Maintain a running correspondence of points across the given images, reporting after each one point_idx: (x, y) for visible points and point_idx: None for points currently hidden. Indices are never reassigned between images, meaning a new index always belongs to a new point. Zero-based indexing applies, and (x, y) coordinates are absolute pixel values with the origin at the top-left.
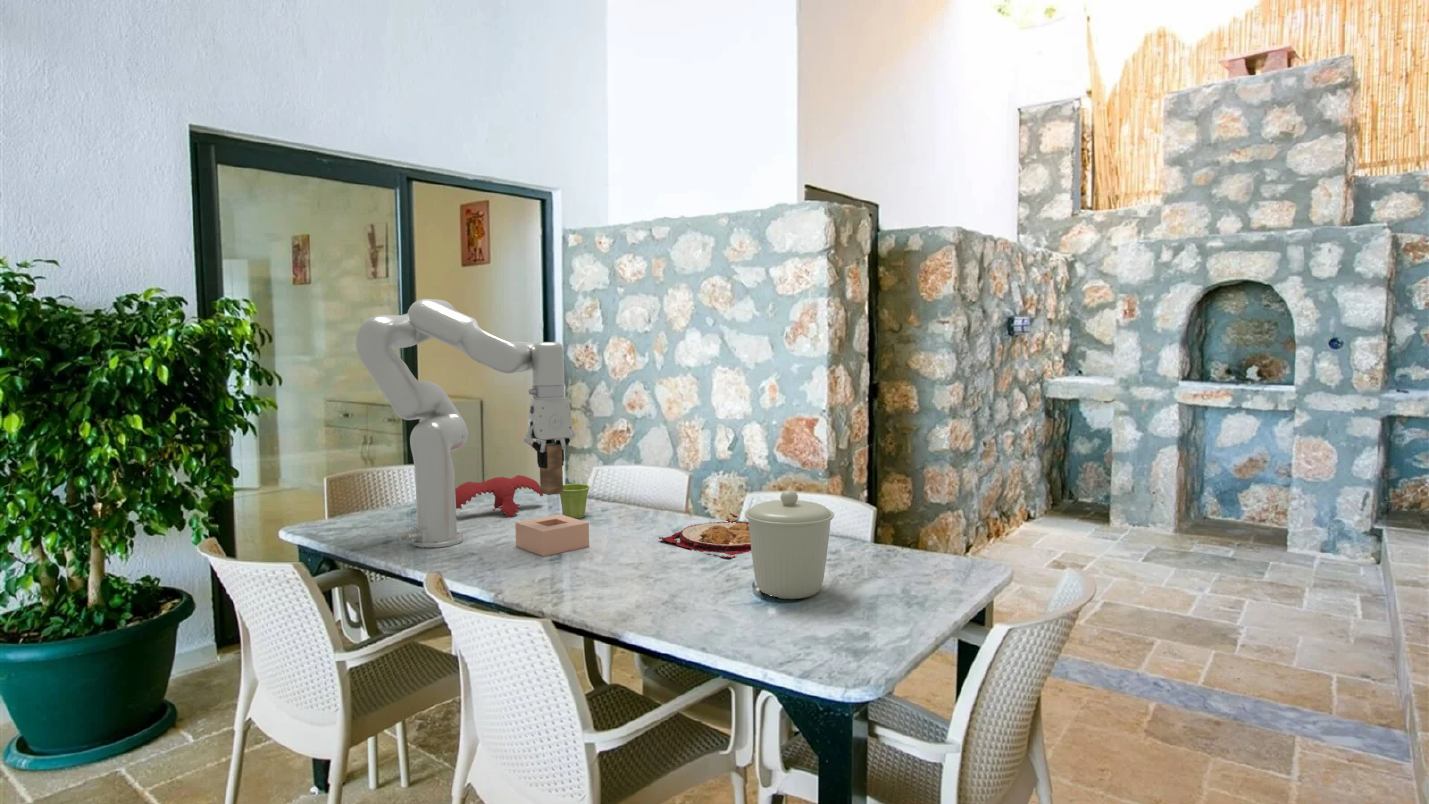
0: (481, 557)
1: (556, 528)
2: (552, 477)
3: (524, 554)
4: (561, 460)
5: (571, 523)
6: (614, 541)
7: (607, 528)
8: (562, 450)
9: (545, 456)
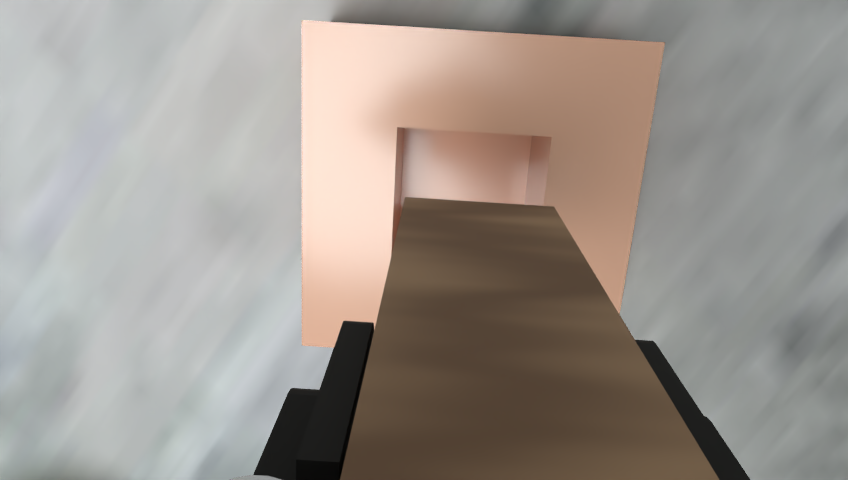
0: (818, 257)
1: (551, 46)
2: (533, 257)
3: (655, 149)
4: (386, 336)
5: (397, 89)
6: (164, 3)
7: (50, 257)
8: (313, 457)
9: (702, 435)
